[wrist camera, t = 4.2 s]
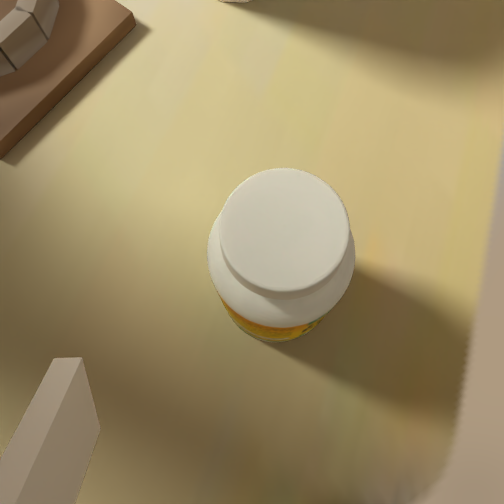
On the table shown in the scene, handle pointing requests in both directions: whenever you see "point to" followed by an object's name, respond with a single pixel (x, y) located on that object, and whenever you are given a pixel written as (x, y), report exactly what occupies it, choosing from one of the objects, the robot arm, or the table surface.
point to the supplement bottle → (281, 253)
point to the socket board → (50, 55)
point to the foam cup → (242, 0)
